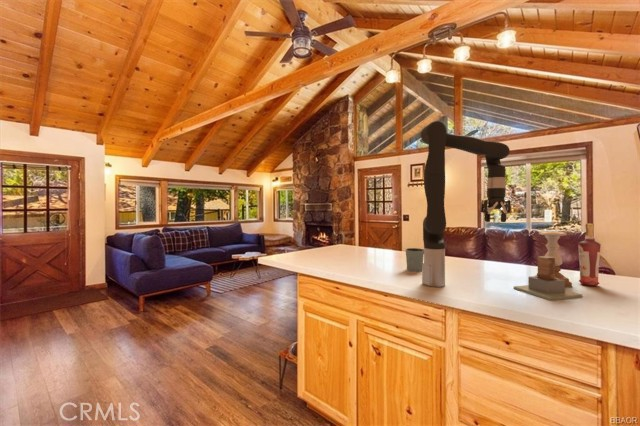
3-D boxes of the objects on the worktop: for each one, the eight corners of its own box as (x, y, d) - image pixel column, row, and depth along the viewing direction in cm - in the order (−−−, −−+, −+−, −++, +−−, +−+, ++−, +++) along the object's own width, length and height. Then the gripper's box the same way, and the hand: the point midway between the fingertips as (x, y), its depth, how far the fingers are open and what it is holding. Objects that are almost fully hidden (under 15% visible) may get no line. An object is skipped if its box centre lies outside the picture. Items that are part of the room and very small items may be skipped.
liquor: (604, 287, 125) (604, 224, 124) (582, 286, 127) (583, 224, 126) (594, 283, 132) (595, 223, 131) (574, 282, 134) (575, 223, 133)
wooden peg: (546, 292, 117) (547, 258, 117) (537, 289, 121) (537, 256, 120) (554, 291, 118) (554, 257, 117) (545, 288, 122) (545, 256, 121)
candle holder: (560, 280, 137) (561, 231, 136) (572, 287, 127) (573, 233, 126) (533, 279, 141) (534, 231, 140) (543, 285, 130) (543, 233, 130)
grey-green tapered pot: (416, 267, 170) (416, 247, 170) (428, 271, 161) (427, 250, 160) (402, 269, 167) (401, 248, 167) (412, 272, 157) (412, 251, 157)
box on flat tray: (549, 300, 110) (550, 285, 110) (513, 288, 125) (513, 275, 125) (582, 296, 113) (582, 282, 113) (542, 286, 129) (543, 272, 129)
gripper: (489, 186, 128) (488, 222, 129) (516, 187, 131) (515, 222, 132) (477, 187, 136) (476, 221, 136) (502, 188, 138) (501, 221, 139)
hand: (495, 222), depth 134 cm, fingers open, 8 cm apart
